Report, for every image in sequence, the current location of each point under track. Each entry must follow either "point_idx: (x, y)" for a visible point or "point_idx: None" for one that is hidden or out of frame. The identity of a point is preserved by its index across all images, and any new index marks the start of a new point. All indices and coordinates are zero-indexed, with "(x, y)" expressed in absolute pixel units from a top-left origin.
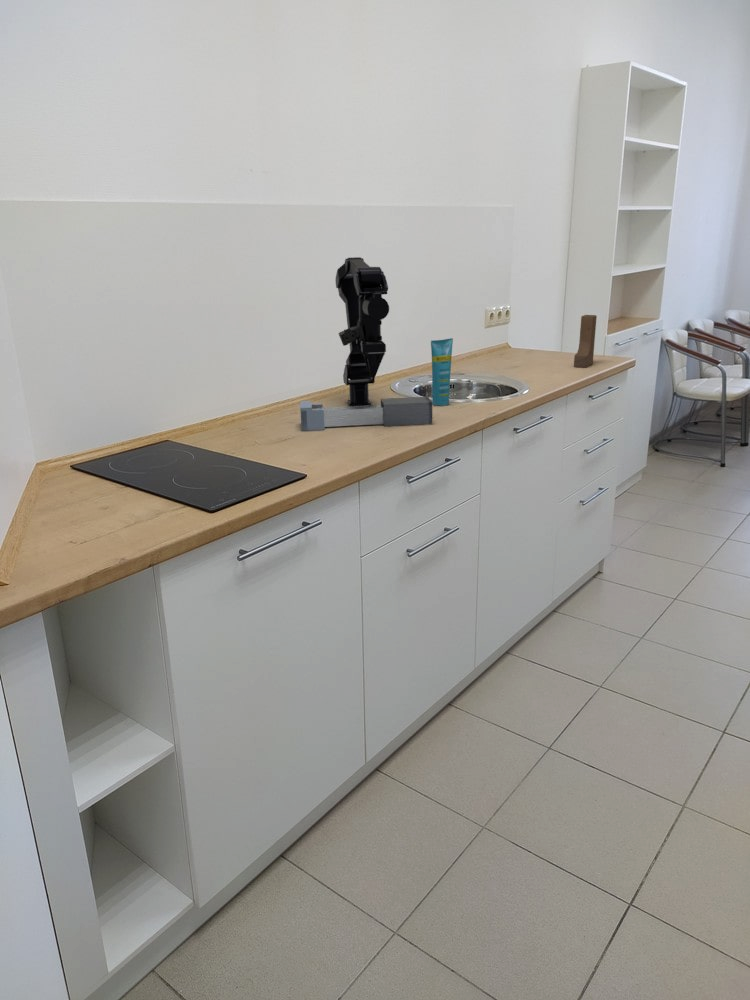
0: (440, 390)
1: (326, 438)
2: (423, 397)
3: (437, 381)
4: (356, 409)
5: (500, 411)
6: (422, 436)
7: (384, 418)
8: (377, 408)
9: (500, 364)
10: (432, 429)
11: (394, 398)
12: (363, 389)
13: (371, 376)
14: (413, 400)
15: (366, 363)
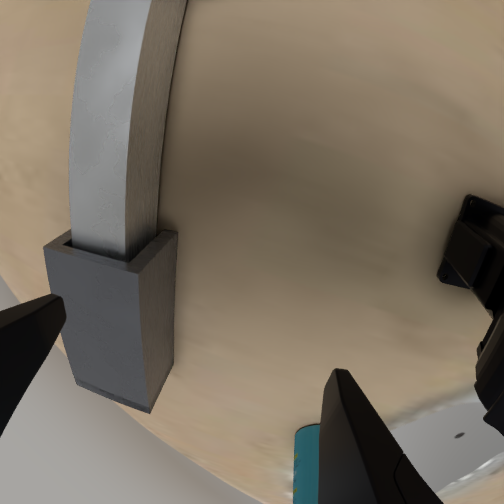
0: (296, 466)
1: (35, 23)
2: (137, 401)
3: (299, 486)
4: (71, 124)
5: (200, 465)
6: (18, 272)
7: None
8: (71, 219)
9: (485, 497)
10: None
11: (133, 326)
12: (477, 286)
13: (49, 297)
14: (96, 360)
15: (346, 421)
